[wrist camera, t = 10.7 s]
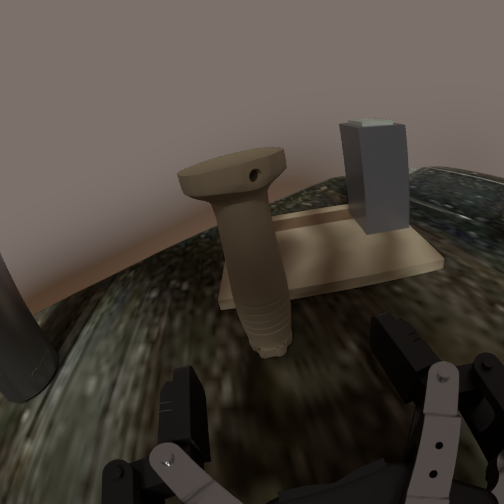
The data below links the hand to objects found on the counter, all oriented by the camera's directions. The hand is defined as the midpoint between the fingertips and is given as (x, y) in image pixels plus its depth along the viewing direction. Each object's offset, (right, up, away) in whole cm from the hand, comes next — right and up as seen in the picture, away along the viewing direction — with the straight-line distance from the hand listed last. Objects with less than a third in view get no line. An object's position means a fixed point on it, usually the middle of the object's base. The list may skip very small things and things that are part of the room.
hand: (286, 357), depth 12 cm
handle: (0, -3, +12) cm, 12 cm away
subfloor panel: (+7, +5, +25) cm, 26 cm away
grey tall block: (+16, +9, +26) cm, 31 cm away
